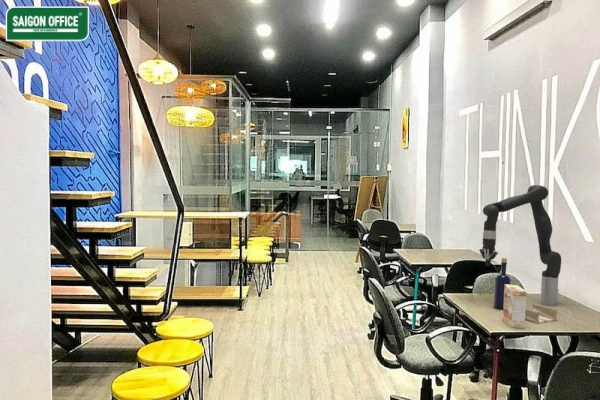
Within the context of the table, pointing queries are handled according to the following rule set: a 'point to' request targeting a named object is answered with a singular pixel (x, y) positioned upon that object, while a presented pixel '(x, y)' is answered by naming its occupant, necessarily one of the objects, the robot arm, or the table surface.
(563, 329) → the table surface
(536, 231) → the robot arm
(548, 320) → the u rest
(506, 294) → the coffeecake box
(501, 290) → the bottle
